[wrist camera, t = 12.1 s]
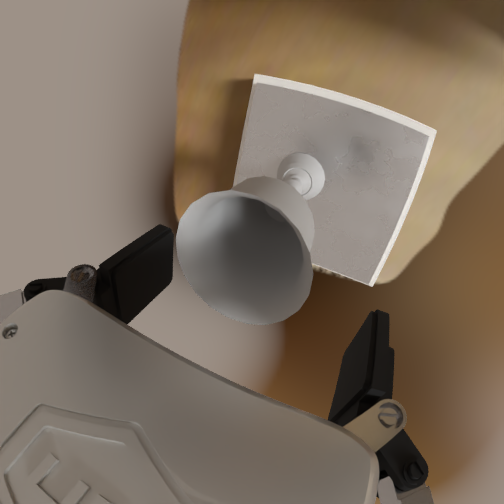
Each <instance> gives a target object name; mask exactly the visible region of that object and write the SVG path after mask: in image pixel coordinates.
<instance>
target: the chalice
mask: <svg viewBox="0 0 504 504" xmlns="http://www.w3.org/2000/svg"><path fill="white" fill-rule="evenodd" d="M324 181H325V175H324V170H323V168H322V166H321V164H320V163H319V162H318V161H317V160H316V159H315V158H314V157H312V156H310V155H308V154H304V153H295V154H291V155H289V156H287V157H285V158H284V159H283V160H282V161H281V163H280V165H279V167H278V169H277V179H275V178H271V177H266V176H260V177H252V178H248V179H246V180H244V181H242V182H241V183H239V184H237V185H235V186H234V187H233V188H231V189H230V190H228V191H221V192H213V193H208V194H207V195H205V196H203V197H202V198H200V199H198V200H197V201H195V202H193V203H192V204H191V205H190V206H189V208H188V209H187V210H186V212H185V213H184V215H183V216H182V218H181V219H180V222H179V227H178V231H177V235H176V245H177V256H178V260H179V263H180V265H181V268H182V271H183V273H184V276H185V277H186V279H187V281H188V282H189V284H190V285H191V287H192V288H193V290H194V291H195V293H197V294H198V295H199V296H200V297H201V298H202V299H203V300H204V301H205V302H206V303H207V304H208V305H209V306H210V307H211V308H213V309H215V310H216V311H218V312H220V313H221V314H223V315H225V316H226V317H228V318H231V319H234V320H237V321H240V322H243V323H246V324H260V325H267V324H271V323H275V322H279V321H283V320H285V319H286V318H288V317H289V316H291V315H292V314H294V313H295V312H297V311H298V310H299V309H300V308H301V306H302V304H303V303H304V302H305V300H306V299H307V297H308V295H309V292H310V288H311V283H312V278H313V270H312V264H311V257H310V252H311V248H312V245H313V239H314V233H315V227H314V220H313V215H312V212H311V210H310V208H309V206H308V204H307V202H306V200H309V199H311V198H313V197H315V196H316V195H317V194H319V193H320V192H321V190H322V188H323V186H324Z"/></svg>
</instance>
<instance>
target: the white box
mask: <svg viewBox="0 0 504 504" xmlns="http://www.w3.org/2000/svg"><path fill="white" fill-rule="evenodd" d="M428 139H429V136H428V135H425V134H423V133H421V132H419V131H417V130H414V129H412V128H410V127H407V126H405V125H403V124H400V123H398V122H395V121H393V120H390V119H388V118H385V117H383V116H380V115H377V114H374V113H372V112H369V111H366V110H363V109H360V108H357V107H354V106H351V105H348V104H345V103H342V102H338V101H335V100H331V99H328V98H324V97H321V96H317V95H313V94H309V93H305V92H301V91H297V90H293V89H288V88H284V87H279V86H274V85H269V84H263V83H258V82H257V83H256V88H255V93H254V98H253V102H252V107H251V112H250V117H249V122H248V127H247V132H246V137H245V142H244V147H243V153H242V158H241V163H240V168H239V174H238V179H237V184H239V183H241V182H242V181H244V180H246V179H248V178H252V177H260V176H266V177H271V178H275V179H277V169H278V167H279V165H280V163H281V161H282V160H283V159H284V158H285V157H287V156H289V155H291V154H295V153H304V154H308V155H310V156H312V157H314V158H315V159H316V160H317V161H318V162H319V163H320V164H321V166H322V168H323V170H324V175H325V181H324V186H323V188H322V190H321V192H320V193H319V194H317V195H316V196H315V197H313V198H311V199H309V200H306V202H307V204H308V206H309V208H310V210H311V212H312V215H313V220H314V227H315V233H314V239H313V245H312V248H311V252H310V257H311V263H313V264H316V265H318V266H321V267H324V268H326V269H329V270H332V271H334V272H337V273H340V274H342V275H345V276H347V277H350V278H353V279H355V280H358V281H361V282H363V283H366V284H369V283H370V281H371V279H372V277H373V275H374V273H375V271H376V269H377V267H378V265H379V263H380V261H381V258H382V256H383V254H384V252H385V250H386V248H387V246H388V244H389V241H390V239H391V237H392V235H393V232H394V230H395V228H396V226H397V223H398V221H399V219H400V216H401V214H402V211H403V209H404V206H405V204H406V201H407V199H408V196H409V194H410V191H411V189H412V186H413V183H414V181H415V178H416V175H417V172H418V170H419V167H420V164H421V161H422V158H423V155H424V152H425V149H426V146H427V142H428ZM237 184H236V185H237Z"/></svg>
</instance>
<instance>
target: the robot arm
mask: <svg viewBox="0 0 504 504" xmlns="http://www.w3.org/2000/svg"><path fill="white" fill-rule="evenodd" d="M173 240H174V234H173V233H172V230H171V229H170V228H168V227H166V226H163V225H157V226H156V227H155V228H153V229H151V230H150V231H148V232H147V233H145V234H144V235H142V236H141V237H139V238H138V239H136V240H135V241H133V242H132V243H130V244H129V245H127V246H126V247H124V248H123V249H121V250H120V251H118V252H117V253H115V254H114V255H113V256H111V257H110V258H108V259H107V260H105V261H104V262H103V263H101V264H100V265H99V269H97V270H96V269H95V267H93V266H91V265H86V264H82V265H78V266H75V267H74V268H72V269H71V270H70V271H69V273H68V275H67V277H62V278H49V279H38V280H34V281H32V282H30V283H29V284H27V286H26V287H25V289H24V291H22V290H21V289H19V290H16V291H13V292H10V293H7V294H4V295H0V504H375V500H376V497H378V498H379V499H380V503H381V504H434V502H433V499H432V495H431V491H430V488H429V486H428V487H426V485H425V481H426V479H427V477H428V466H427V463H426V461H425V460H424V458H423V457H422V455H421V454H420V452H419V451H418V449H417V448H416V447H415V445H414V444H413V442H412V441H411V440H410V438H409V436H408V435H407V434H406V432H405V431H404V429H403V427H404V426H405V424H406V420H407V418H406V412H405V410H404V408H403V407H402V406H401V404H400V403H398V402H397V401H395V400H392V391H393V390H392V389H393V375H394V349H393V348H391V347H389V314H388V313H386V312H383V311H380V310H376V311H375V312H373V311H371V312H370V313H369V315H368V317H367V318H366V320H365V322H364V323H363V325H362V326H361V328H360V330H359V331H358V333H357V334H356V336H355V337H354V339H353V340H352V342H351V343H350V345H349V346H348V348H347V349H346V351H345V353H344V356H343V359H342V364H341V368H340V373H339V377H338V381H337V386H336V390H335V394H334V398H333V402H332V406H331V409H330V413H329V417H328V420H325V419H323V418H320V417H318V416H315V415H313V414H310V413H307V412H305V411H302V410H299V409H297V408H294V407H292V406H289V405H286V404H284V403H282V402H279V401H277V400H274V399H272V398H269V397H267V396H265V395H262V394H260V393H257V392H255V391H253V390H250V389H248V388H246V387H244V386H241V385H239V384H237V383H235V382H232V381H230V380H228V379H226V378H224V377H222V376H220V375H218V374H216V373H214V372H212V371H209V370H208V369H205V368H203V367H201V366H200V365H198V364H196V363H194V362H192V361H190V360H188V359H186V358H184V357H182V356H180V355H178V354H177V353H175V352H173V351H171V350H169V349H168V348H166V347H164V346H162V345H160V344H159V343H157V342H155V341H153V340H152V339H150V338H148V337H147V336H145V335H143V334H141V333H140V332H138V331H136V330H135V329H133V328H132V327H130V326H128V325H127V324H128V323H129V322H131V320H133V318H134V317H136V316H137V315H138V314H139V313H140V312H141V311H142V310H143V309H144V308H145V307H146V306H147V305H148V304H149V303H150V302H151V301H152V300H153V299H154V298H155V297H156V296H157V295H158V294H160V293H161V292H162V291H163V290H164V289H165V288H166V287H167V286H168V285H169V284H170V282H171V280H172V276H173Z"/></svg>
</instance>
